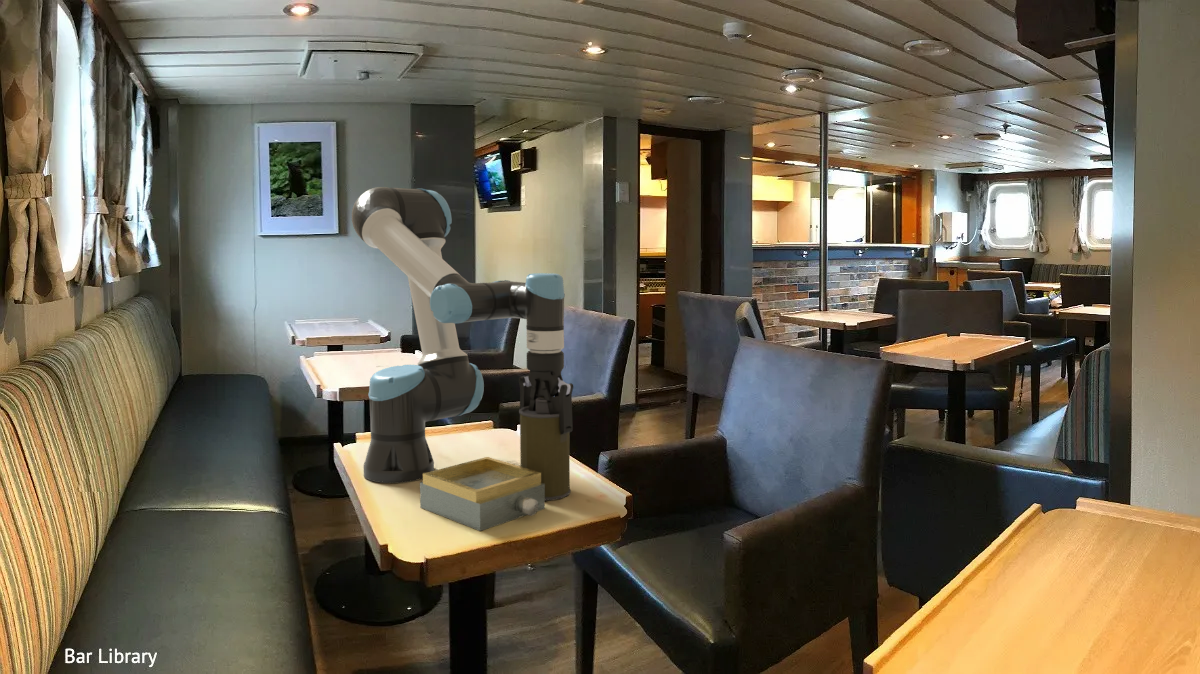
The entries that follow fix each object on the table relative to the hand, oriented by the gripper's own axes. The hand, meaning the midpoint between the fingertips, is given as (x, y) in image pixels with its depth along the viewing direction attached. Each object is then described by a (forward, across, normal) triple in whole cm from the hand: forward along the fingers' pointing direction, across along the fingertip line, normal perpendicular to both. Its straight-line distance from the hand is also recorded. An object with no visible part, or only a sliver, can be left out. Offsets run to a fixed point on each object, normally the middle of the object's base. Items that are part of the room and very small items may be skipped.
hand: (545, 462), depth 163 cm
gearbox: (+6, -1, -15) cm, 16 cm away
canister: (+7, 0, 0) cm, 7 cm away
